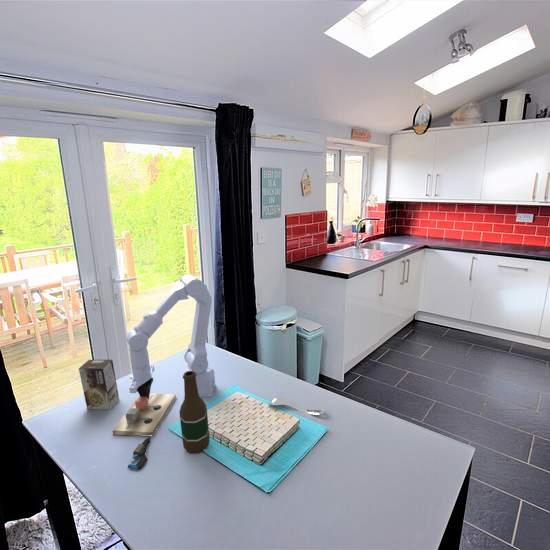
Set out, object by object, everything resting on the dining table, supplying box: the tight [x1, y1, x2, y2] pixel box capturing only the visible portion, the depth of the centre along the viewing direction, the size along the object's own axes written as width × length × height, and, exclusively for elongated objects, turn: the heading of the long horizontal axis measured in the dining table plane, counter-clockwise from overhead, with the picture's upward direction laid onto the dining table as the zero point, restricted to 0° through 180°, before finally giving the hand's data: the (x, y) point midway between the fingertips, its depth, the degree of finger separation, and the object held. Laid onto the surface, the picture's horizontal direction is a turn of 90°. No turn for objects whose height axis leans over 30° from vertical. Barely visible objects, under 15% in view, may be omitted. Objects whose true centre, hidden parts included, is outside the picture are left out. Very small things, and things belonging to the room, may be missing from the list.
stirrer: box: [268, 396, 326, 416], centre depth 122 cm, size 20×4×5 cm
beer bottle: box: [179, 371, 210, 455], centre depth 104 cm, size 8×8×24 cm
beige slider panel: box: [112, 393, 177, 436], centre depth 121 cm, size 13×20×5 cm, turn 174°
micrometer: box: [127, 436, 152, 471], centre depth 105 cm, size 12×2×5 cm
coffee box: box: [78, 359, 120, 410], centre depth 127 cm, size 9×6×16 cm
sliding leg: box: [134, 395, 158, 410], centre depth 123 cm, size 7×3×3 cm, turn 84°
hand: (145, 399), depth 126 cm, fingers closed
